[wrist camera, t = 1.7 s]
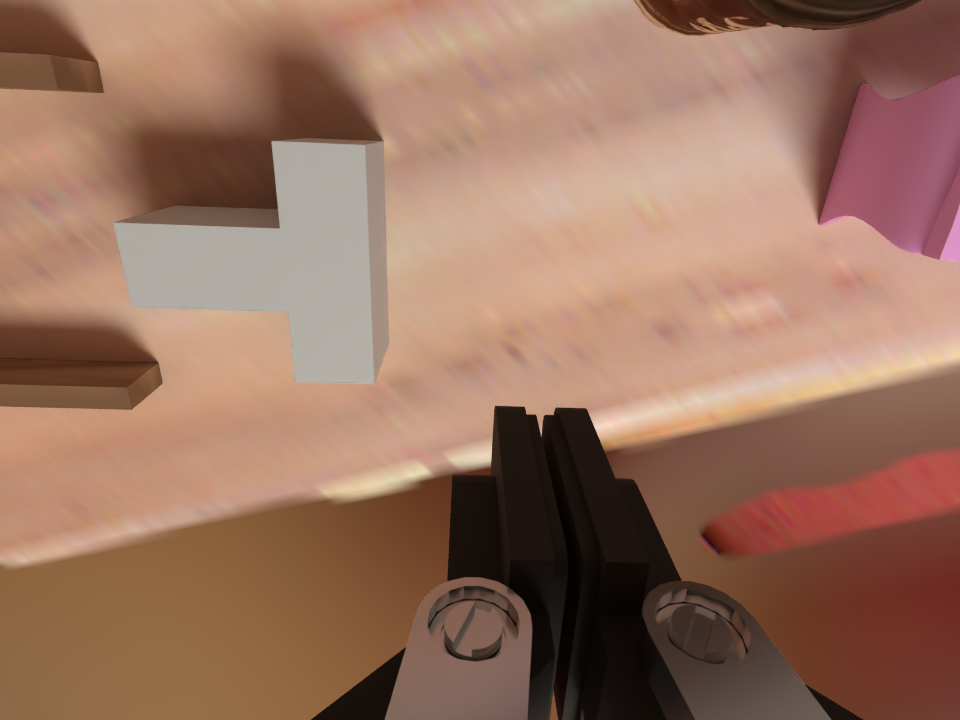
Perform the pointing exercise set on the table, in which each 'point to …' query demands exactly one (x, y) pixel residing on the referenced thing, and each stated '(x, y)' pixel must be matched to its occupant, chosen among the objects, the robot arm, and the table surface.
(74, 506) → the table surface
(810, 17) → the coffee cup
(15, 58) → the corral
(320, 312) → the tee block
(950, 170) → the toy chair
